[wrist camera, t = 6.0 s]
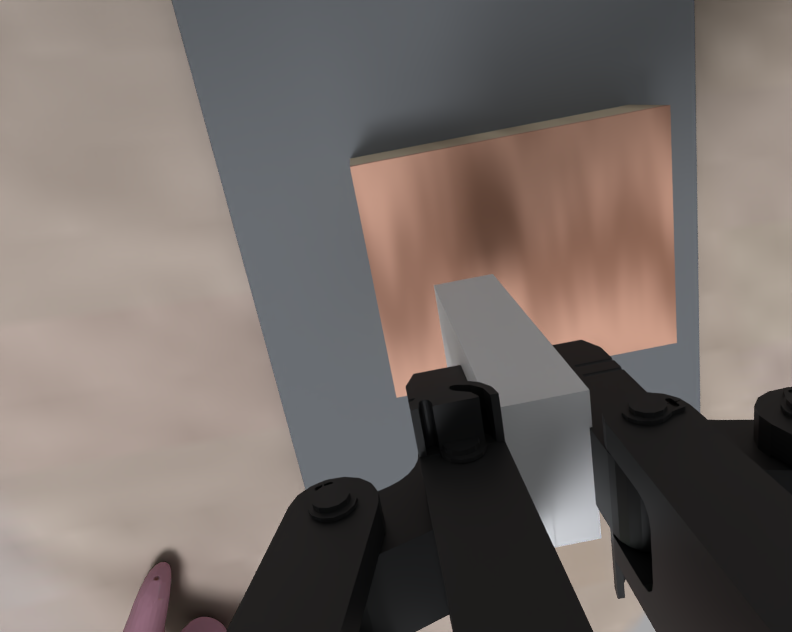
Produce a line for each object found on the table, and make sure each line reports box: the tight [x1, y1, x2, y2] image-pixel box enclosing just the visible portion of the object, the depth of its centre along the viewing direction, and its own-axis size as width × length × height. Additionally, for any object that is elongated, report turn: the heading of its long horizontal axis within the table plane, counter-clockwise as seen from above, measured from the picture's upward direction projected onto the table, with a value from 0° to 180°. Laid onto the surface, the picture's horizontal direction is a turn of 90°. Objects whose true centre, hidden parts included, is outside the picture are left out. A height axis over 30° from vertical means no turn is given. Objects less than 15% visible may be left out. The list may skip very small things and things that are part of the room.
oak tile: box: [350, 105, 677, 398], centre depth 22 cm, size 8×3×10 cm
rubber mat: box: [172, 0, 700, 491], centre depth 23 cm, size 20×17×1 cm
